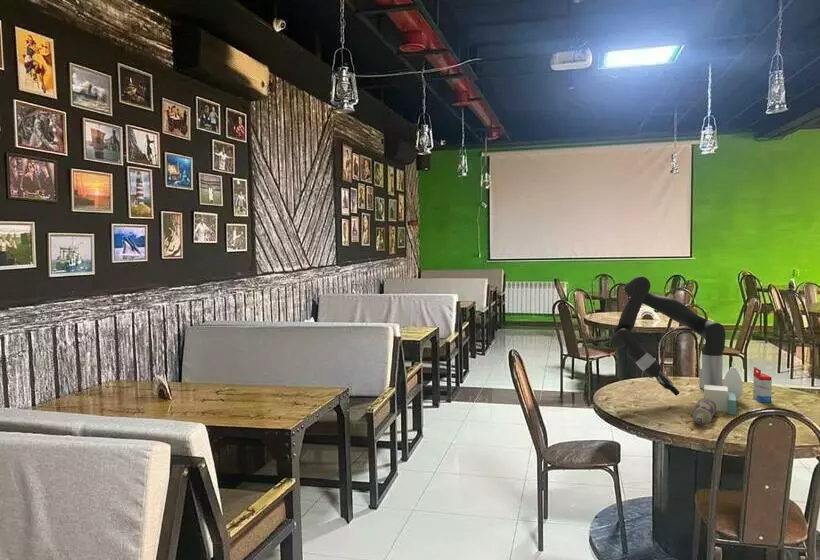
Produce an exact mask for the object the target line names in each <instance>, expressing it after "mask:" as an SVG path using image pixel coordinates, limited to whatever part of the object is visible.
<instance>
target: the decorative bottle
mask: <svg viewBox="0 0 820 560" xmlns="http://www.w3.org/2000/svg"><path fill="white" fill-rule="evenodd" d="M716 409H717V407H716V404H715V402H713V401H712V400H710V399H705V398H704V397H703V398H700V399H699V400H698V401H697V403H696V405H695V407H694V408H693V410H692V411H691V414H690V416H691V418H692V419H693V421H695V422H696V424H698V425H708V424H709V423H711V421H712V419H713V416H714V415H715V414H716V412H717V411H716Z"/></svg>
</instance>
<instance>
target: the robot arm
mask: <svg viewBox="0 0 820 560" xmlns="http://www.w3.org/2000/svg"><path fill="white" fill-rule="evenodd" d="M651 287H652V286H651V282H650V280H649V279H648V278H647V277H646V276H643V275H638V276H635V277H634V278H633V279H631V280H630V281H629V282H628V283H627V284H625V285H624V293H625V294H626V295H627V297H629V300H628V302H627V303H626V304H625V306H624V308H623V310H622V312H621V313H620V317H619V319H618V323H617V325H616V327H615V328H614V331H613V333H612V335H611V340H610V341H611V343H612V345H613V346H614V347H615V348H618V349H621V348H624V347H626V348H627V349H628V350H627V352H626V353H627V356H628V357H629V358H630V359H631V360H632V361H633V362H634V363H635V364H636V365H637V367H638V368H639V369H640V370H641V371H642V372H643V373H644V374H645V375H646V376H647V377H648V378H651V379H652V378H653V377H655V378H656V379H655V380H656V381H657V382H658V383H659V385H660V386H662V387H663V388H664V389H666V390H670V392H671V393H672V394H673V395H674V396H678V395H679V394H680V391H679V390H678V388H676V387H675V386H674V384H673V382H672V380H671V379H670V378H669V377H668V375H667V374H666V373H665V372H663V371H661V370H662V369H663V365H661V363H659V362H658V361H657V360H656V359H655V358H654V357H653V356H652V355H651V354H650V353H648V352H647V351H646V350H645V349H644V348H643V347H642V346H641V344H640V343H639V341H638V339H637V338H636V337H635V335H634V334H633V332H632V331H633V329H634V327H635V324H636V321H637V319H638V315H639V312H640V309H641V307H642V306H643V304H644V305H646V306H648V307H649V308H651V309H653V310H655V311H657V312H659V313H661V314H662V315H664V316H665V317H667V318H669V319H671V320H673V321H675V322H677V323H678V324H681V325H683V326H686V327H688V328H689V329H691V330H692V331H694V332H695V333H696V334H698V335H699V336H701V337H702V338H703V339H705V343H704V346H703V347H702V348H701V367H700V368H699V384H698V385H699V387H700V389H702V390H704V385H714V386H723V380H724V379H723V378H724V377H723V375H724V374H723V369H724V368H723V366H724V364H723V363H724V361H723V360H724V359H723V358H724V351H725V346H726V329H725V326H724V325H723V324H721V323H719V322H717V321H712V320H710V319H707V318H704V317H702V316H700V315H698V314H697V313H696V312H694V311H693V310H692V309H691V308H690V307H689V306H687V305H686V304H684V303H683V302H680V301H679V300H678V299H676V298H674V297H670V296H664V295H657V294H653V293H651V292H650V290H651ZM699 387H698V388H699Z"/></svg>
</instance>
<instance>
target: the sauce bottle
mask: <svg viewBox="0 0 820 560" xmlns="http://www.w3.org/2000/svg"><path fill="white" fill-rule="evenodd" d="M723 378H724V379H723V381H722V386H726V387H727V388H728V391H730V392H735V396H736V402H737V401H738V400H739V399H740V398H741V396H742V395H743V392H744V391H743V389H744V387H743V385H744V384H743V380H742V377H741V375H740V373H739V371H738V370H737V367H735V364H734V361H732V366H730V367H729V369H728V371H727V372H726V374H725V376H724V377H723Z"/></svg>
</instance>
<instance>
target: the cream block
mask: <svg viewBox="0 0 820 560" xmlns="http://www.w3.org/2000/svg"><path fill="white" fill-rule="evenodd" d="M704 398H705V399H710V400H712V401H713V402H715V404H716V407H717V409H716V411H715V412H722V413H723V412H724V413H728V388H727V387H726V386H723V385H722V386H714V385H704V389H703V399H704Z"/></svg>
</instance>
